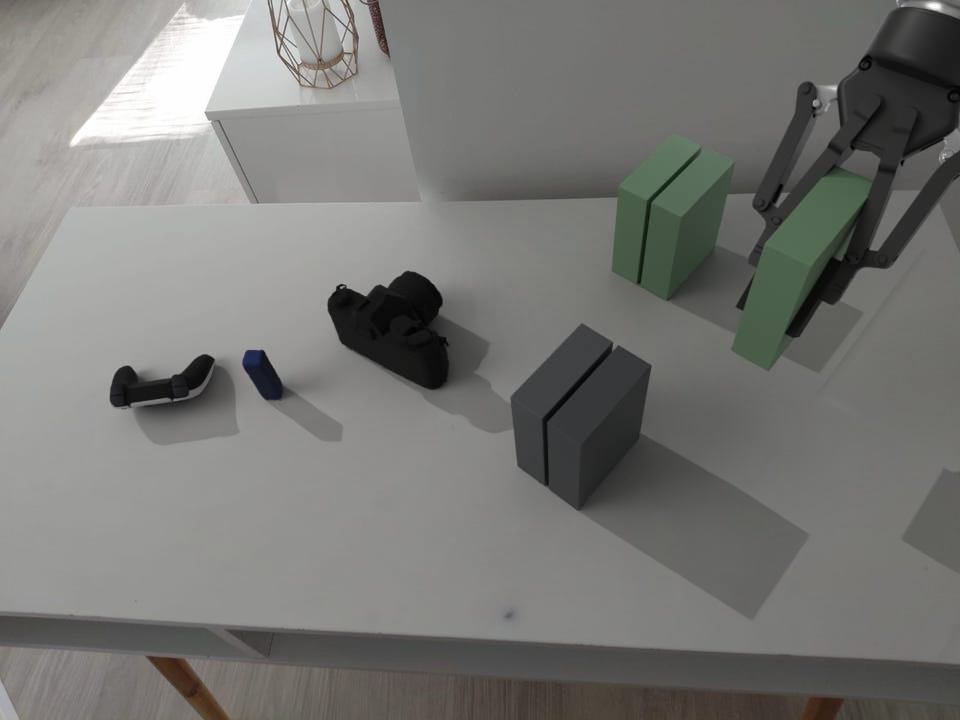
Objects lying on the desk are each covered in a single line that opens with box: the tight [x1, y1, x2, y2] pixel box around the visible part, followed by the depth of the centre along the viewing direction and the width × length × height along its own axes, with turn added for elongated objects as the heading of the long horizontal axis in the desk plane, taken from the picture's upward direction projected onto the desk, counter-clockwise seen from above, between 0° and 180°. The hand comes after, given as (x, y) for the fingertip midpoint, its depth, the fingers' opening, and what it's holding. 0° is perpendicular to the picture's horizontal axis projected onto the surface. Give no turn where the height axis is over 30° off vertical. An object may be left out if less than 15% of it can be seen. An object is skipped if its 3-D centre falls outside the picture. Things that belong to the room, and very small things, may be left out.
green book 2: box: [640, 148, 736, 301], centre depth 82 cm, size 4×10×13 cm, turn 139°
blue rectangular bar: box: [241, 349, 284, 401], centre depth 80 cm, size 2×2×7 cm
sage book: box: [730, 166, 874, 372], centre depth 59 cm, size 4×10×13 cm, turn 139°
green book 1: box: [611, 133, 703, 285], centre depth 84 cm, size 4×10×13 cm, turn 139°
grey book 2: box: [547, 345, 653, 511], centre depth 69 cm, size 4×10×13 cm, turn 138°
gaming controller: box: [109, 353, 216, 410], centre depth 82 cm, size 11×4×7 cm
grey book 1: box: [509, 322, 614, 487], centre depth 71 cm, size 4×10×13 cm, turn 138°
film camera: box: [326, 270, 450, 390], centre depth 81 cm, size 15×10×9 cm, turn 56°
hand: (767, 321), depth 60 cm, fingers closed on sage book, 3 cm apart
